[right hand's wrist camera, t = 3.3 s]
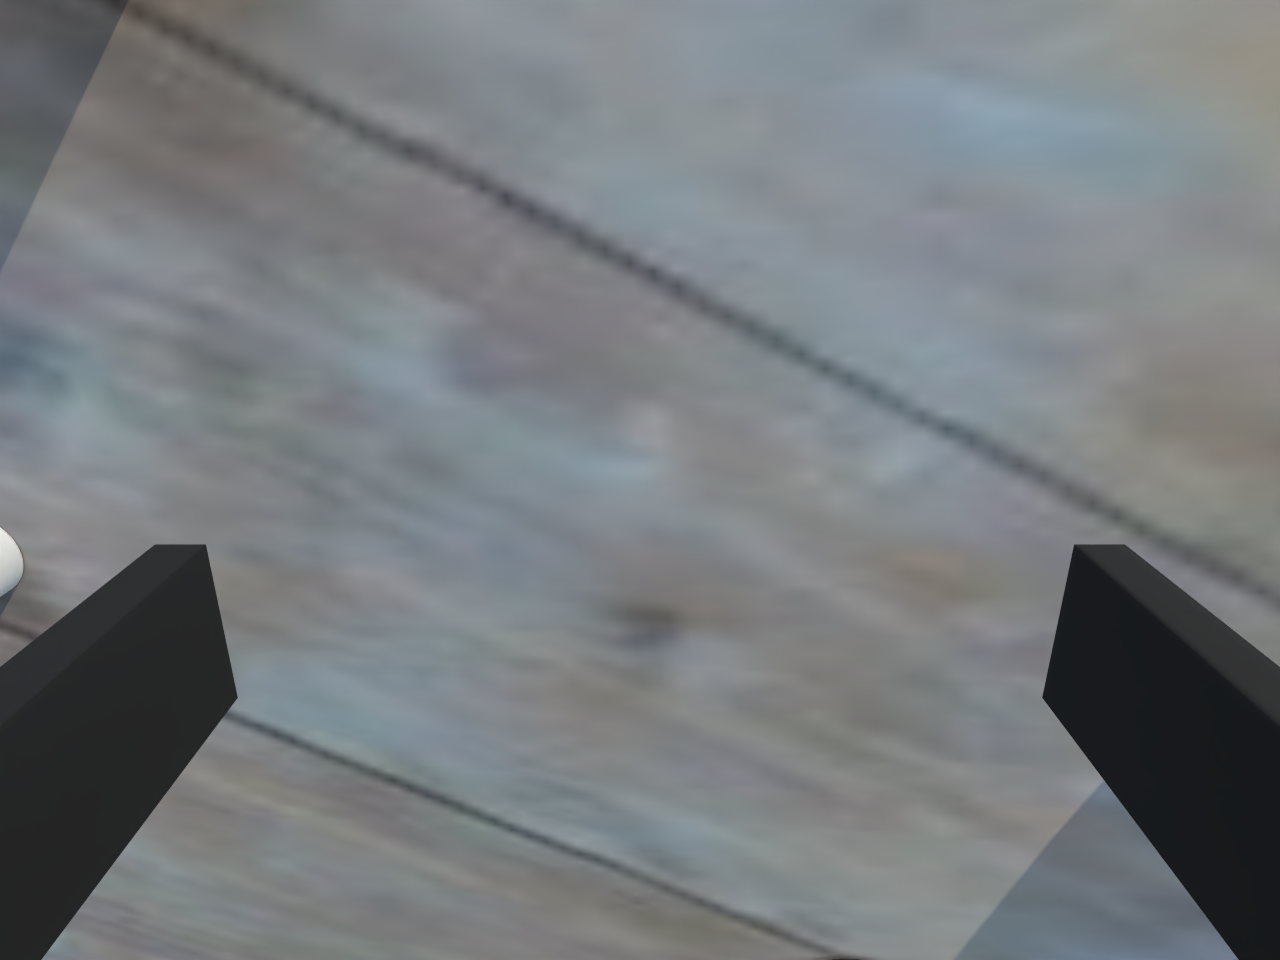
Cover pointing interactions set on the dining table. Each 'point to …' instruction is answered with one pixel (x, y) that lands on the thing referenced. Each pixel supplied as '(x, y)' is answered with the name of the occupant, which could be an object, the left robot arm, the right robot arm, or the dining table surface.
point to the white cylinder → (9, 563)
